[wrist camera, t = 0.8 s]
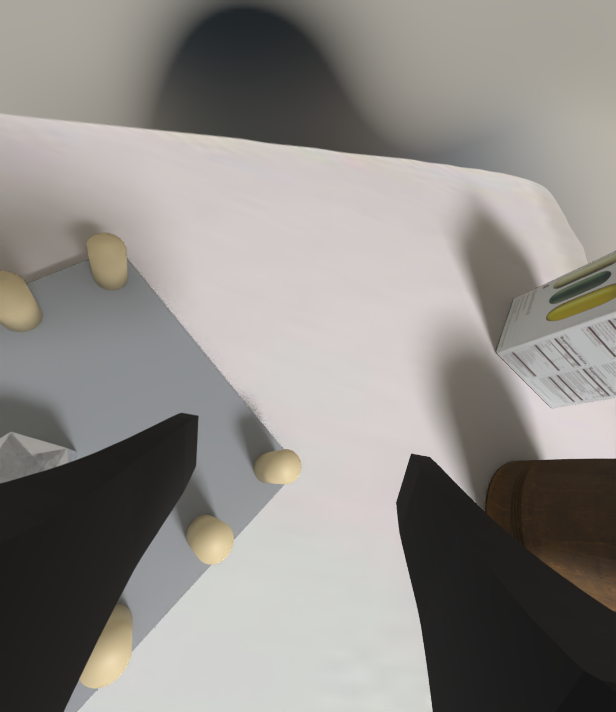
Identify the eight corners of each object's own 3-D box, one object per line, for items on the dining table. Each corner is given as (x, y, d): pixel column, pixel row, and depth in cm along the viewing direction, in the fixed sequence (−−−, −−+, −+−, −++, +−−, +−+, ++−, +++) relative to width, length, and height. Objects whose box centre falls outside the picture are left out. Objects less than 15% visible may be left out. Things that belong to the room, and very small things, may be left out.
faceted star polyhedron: (4, 554, 19) (-21, 568, 16) (-54, 488, 19) (-89, 491, 16) (100, 480, 22) (95, 481, 19) (52, 423, 22) (39, 415, 19)
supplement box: (512, 296, 54) (653, 229, 39) (563, 349, 56) (716, 304, 41) (493, 352, 47) (655, 296, 33) (552, 411, 49) (730, 383, 35)
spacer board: (58, 724, 19) (35, 796, 15) (-233, 397, 18) (-348, 373, 14) (294, 468, 29) (320, 467, 25) (118, 254, 29) (115, 215, 24)
